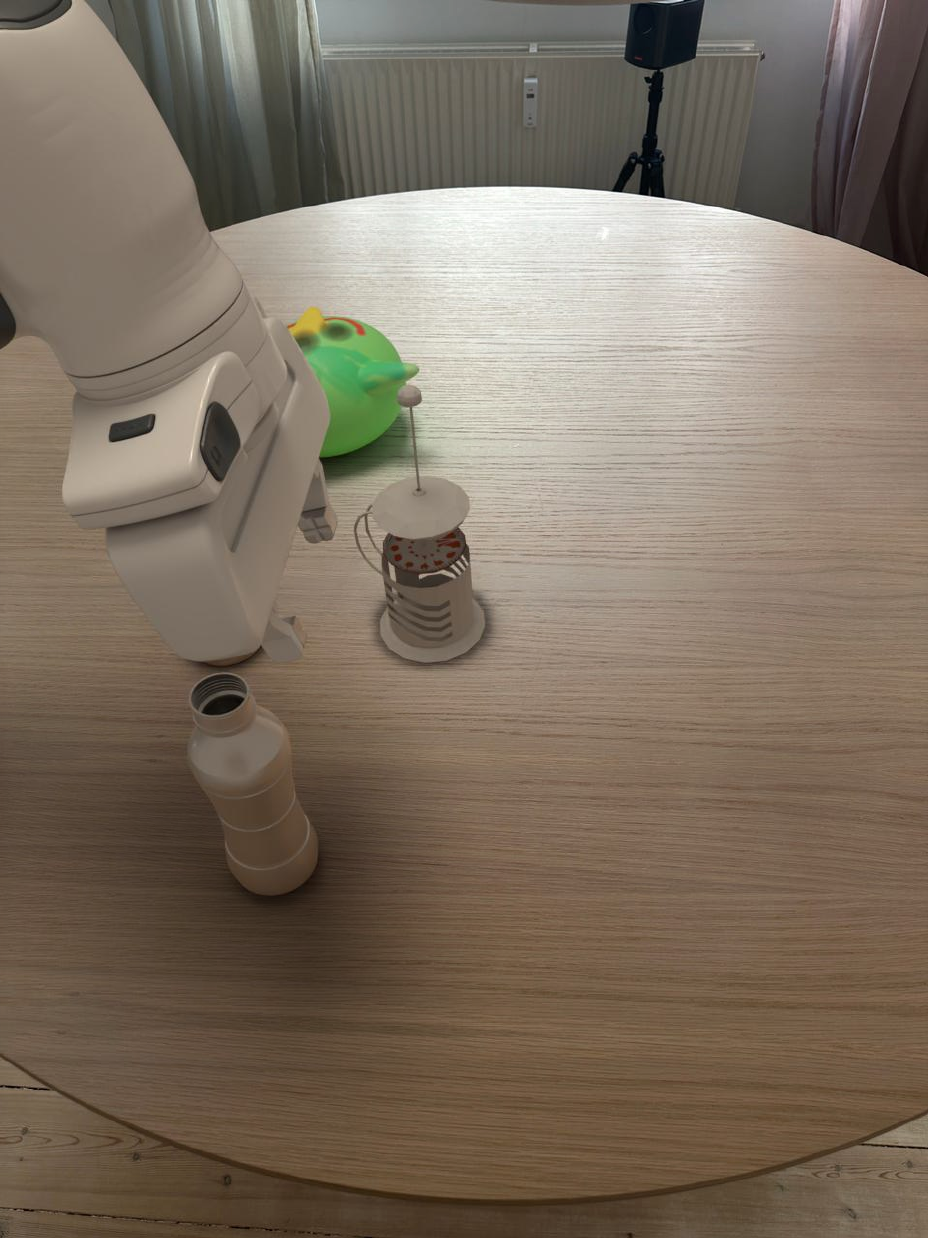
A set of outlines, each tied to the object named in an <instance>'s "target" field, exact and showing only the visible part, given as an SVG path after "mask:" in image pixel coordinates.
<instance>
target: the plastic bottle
mask: <svg viewBox="0 0 928 1238" xmlns="http://www.w3.org/2000/svg"><path fill="white" fill-rule="evenodd" d="M188 705H189V708H190V710H191V713H192V720H193V722H194V725H195V726H194V727H193V730H192V731H191V733H190V735H189V739H188V743H187V763H188V767H189V769H190V771H191V773H192V775H193V776H194V779H195V780H196V782H197V783H198V784H199V786H200V788H201V789H202V790H203V793H205V794H206V796H207V798H208V799H209V800H210V802H211V803H212V806H213V808H214V810H215V811H216V814H217V816H218V818H219V820H220V823H221V827H222V831H223V835H224V851H225V857H226V863H227V866H228V868H229V870H230V872H231V874H232V875H233V876H234V878H235V879H236V880H237V881H238V882H239V884H241V886H242V887H243V888H244V889H246V890H247V891H250V892H252V893H254V894H256V895H259V896H269V897H270V896H271V897H272V896H279V895H280V896H281V895H284V894H287V893H290V892H293V891H294V890H296V889H298V888H300V887H301V886H302V885H304V883H305V882H307V880H308V879H309V878H310V877H311V876H312V875H313V873H314V871H315V869H316V866H317V864H318V858H319V839H318V835H317V832H316V830H315V828H314V826H313V824H312V822H311V821H310V819H309V817H308V816H307V815H306V813H305V812H304V810H303V808H302V805H301V802H300V801H299V798H298V795H297V793H296V792H297V791H296V788H295V783H294V777H293V773H292V772H293V770H292V769H293V768H292V767H293V766H292V745H291V740H290V735H289V732H288V729H287V727H285V725H284V723H283V722H282V721H281V720H280V719H279V718H278V716H276V714H275V713H273V712H272V711H271V710H269V709H267V708H265V707H263V706H261V705H259V704H258V703H257V700H256V697H255V695H254V694H253V693H252V690H251V687H250V685H249V683H248V682H247V680H245V678H243V676H241V675H239V674H236V673H233V672H215V673H211V674H209V675H207V676H205V677H203V678H201V679H199V681H197V682H196V683H194V686H192V688H191V690H190V692H189V695H188Z"/></svg>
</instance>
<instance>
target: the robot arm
mask: <svg viewBox="0 0 928 1238" xmlns="http://www.w3.org/2000/svg"><path fill="white" fill-rule="evenodd" d="M204 219H205V218H204V216H203V214H202V211H201V206H200V201H199V195H198V192H197V187H196V183H195V181H194V178H193V176H192V174H191V171H190V169H189V167H188V165H187V163H186V161H185V159H184V156H183V155H182V153H181V152H180V149H179V147H178V145H177V143H176V141H175V140H174V138H173V136H172V134H171V132H170V130H169V128H168V126H167V124H166V122H165V120H164V119H163V117H162V115H161V113H160V111H159V109H158V107H157V105H156V104H155V102H154V100H153V98H152V96H151V95H150V93H149V91H148V89H147V88H146V85H144V83H143V81H142V79H141V78H140V76H139V74H138V73H137V70H136V69H135V67H134V66H133V65H132V62H130V60H129V59H128V57H127V55H126V54H125V52H124V51H123V49H122V47H121V46H120V44H119V42H118V41H117V40H116V38H115V37H114V36H113V34H112V33H111V31H110V30H109V29H108V27H107V26H106V25H105V23H104V22H103V21H102V20H101V18H100V17H99V16H98V14H97V13H96V12H95V11H94V9H92V7H91V6H90V5H89V3H87V2H86V0H0V350H2V349H4V348H5V347H7V346H8V345H9V344H10V343H11V342H12V341H15V340H18V339H21V338H23V337H24V338H25V337H35V338H38V339H41V340H42V341H44V342H45V343H46V344H47V345H48V346H49V347H50V348H51V350H52V352H53V353H54V355H55V357H56V359H57V361H58V364H59V366H60V368H61V370H62V371H63V373H64V375H65V376H66V378H67V379H68V380H69V381H70V383H71V384H72V386H73V387H74V389H75V390H76V392H75V393H74V394H73V397H72V399H71V401H72V402H71V417H72V418H71V433H70V434H71V435H70V441H69V442H70V443H69V448H68V449H69V450H68V455H67V460H66V465H65V470H64V476H63V481H62V485H61V498H62V503H63V506H64V507H65V509H66V511H67V513H68V514H69V515H70V517H71V519H73V521H74V522H75V523H76V524H77V525H78V526H79V527H80V528H82V529H83V530H85V531H92V530H99V529H105V532H104V538H105V540H104V541H105V547H106V551H107V555H108V558H109V562H110V563H111V566H112V569H113V570H114V572H115V574H116V575H117V578H118V579H119V581H120V582H121V585H123V587H124V589H125V590H126V591H127V593H128V594H129V596H130V597H131V599H132V600H133V601H134V603H135V604H136V605H137V607H138V609H139V610H140V611H141V613H142V614H143V616H144V617H145V618H146V619H147V621H148V622H149V623H150V624H151V626H152V627H153V628H154V630H155V631H156V632H157V633H158V635H159V636H160V637H161V638H162V640H163V641H164V642H165V644H167V646H168V647H169V648H170V649H171V650H172V651H173V653H175V654H176V655H177V656H178V657H180V658H182V659H184V660H187V661H193V662H201V663H204V662H203V661H213V660H220V659H226V658H231V657H236V656H240V655H245V654H249V653H252V652H254V651H256V650H257V649H258V648H259V647H260V648H261V647H262V649H263V650H264V652H265V653H266V656H268V658H269V659H270V660H271V661H272V662H273V663H277V664H286V663H291V662H298V661H300V660H301V659H302V658H303V655H304V651H305V645H306V643H307V642H306V641H307V637H308V633H307V632H306V630H305V629H303V625H302V624H301V622H300V620H299V618H298V617H297V615H292V616H286V617H283V618H281V617H279V616H277V614H278V611H279V604H278V603H277V601H276V597H277V594H278V590H279V587H280V584H281V581H282V577H283V575H284V570H285V567H286V564H287V561H288V559H289V554H290V551H291V548H292V544H293V541H294V540H295V539H294V538H295V535H296V532H297V529H299V530H300V532H302V534H303V538H304V539H305V541H306V542H308V543H310V544H319V543H321V542H322V541H324V542H329V541H331V540H333V539H334V536H335V533H336V530H337V526H338V523H339V518H338V516H337V513H336V512H335V510H334V508H333V506H332V504H331V502H330V501H329V499H330V497H329V493H328V488H327V482H326V477H325V472H324V467H323V464H322V462H321V460H320V457H319V454H320V451H321V448H322V445H323V441H324V438H325V435H326V432H327V429H328V426H329V423H330V411H329V406H328V401H327V398H326V394H325V392H324V390H323V388H322V386H321V384H320V382H319V380H318V379H317V377H316V375H315V373H314V371H313V370H312V368H311V366H310V364H309V362H308V361H307V359H306V357H305V355H304V354H303V352H302V350H301V349H300V347H299V345H298V344H297V342H296V340H295V339H294V337H293V336H292V334H291V332H290V331H289V330H288V328H287V327H286V326H285V325H286V324H284V322H283V321H281V319H279V318H277V317H274V316H267V314H266V312H265V310H264V308H263V306H262V304H261V303H260V300H259V299H258V298H257V296H256V295H254V294H252V293H251V291H250V289H249V288H248V286H247V283H246V282H245V280H244V278H243V276H242V273H241V272H240V270H239V268H238V266H237V265H236V264H235V262H233V260H232V259H231V258H230V256H229V255H227V253H226V252H225V251H224V250H223V248H221V247H220V246H219V244H218V243H217V241H216V240H215V239H214V236H213V235H212V234H211V232H210V230H209V228H208V226H207V224H206V221H205V220H204ZM260 645H261V646H260ZM260 648H259V649H260ZM259 649H258V650H259ZM258 650H257V651H258ZM257 651H256V652H257Z"/></svg>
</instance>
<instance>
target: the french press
mask: <svg viewBox="0 0 928 1238" xmlns="http://www.w3.org/2000/svg"><path fill="white" fill-rule="evenodd" d="M397 400H398V404H399V405H401V406H402V407H404V408H408V409H409V417H410V426H411V436H412V447H413V456H414V465H415V466H414V468H415V477H408V478H403V479H401V480H397V481H395V482H392V483H391V484H389V485H387V486H386V487H384V489H382V490H381V491H379V492H378V493H377V495H376V497H375V499H374V501H372V502H371V503H370V504H369V505H368V506H367V508H366V510H365V511H363V512H362V513H361V514H360V515H358V516H357V518H356V519H355V522H354V525H353V535H354V539H355V544H356V546H357V548H358V550H359V553H360V555H361V557H362V558H363V560H364V561H365V562H366V563H367V564H368V565H369V566H370V568H371V569H372V570H374V571H375V572H377V573H378V574H379V575H380V576H382V580H383V585H384V592H385V593H384V594H385V599H386V608H385V610H384V612H383V614H382V616H381V618H380V620H379V635H380V637H381V639H382V640H383V642H384V644H385V645H386V647H387V648H388V650H390V651H392V652H393V653H395V654H396V655H398V656H400V657H401V658H403V659H404V660H409V661H414V662H419V663H424V664H426V663H436V662H439V663H440V662H448V661H450V660H452V659H454V658H457V657H460V656H462V655H464V654H466V653H467V652H468V651H470V650H471V649H472V648H473V647H474V646H475V645H476V644H478V643H479V641H480V640H481V638H482V635H483V633H484V630H485V628H486V619H485V612H484V610H483V608H482V607H481V605H480V604H479V603H478V602H477V600H476V599H475V598H474V597H473V580H472V565H471V564H472V563H471V553H470V546H469V545H468V544H467V540H466V539H467V538H466V535H465V533H464V531H462V530H461V528H460V527H461V525H463V524H464V521H465V520H466V518H467V516H468V514H469V512H470V510H471V503H470V496H468V494H467V493H466V492H465V490H464V489H463V488H462V487H461V486H460V485H458V484H456V483H455V482H453V481H450V480H448V479H446V478H442V477H441V478H440V477H435V476H434V477H433V476H427V475H425V476H423V475H422V476H420V472H419V462H418V452H417V451H418V449H417V442H416V431H415V422H414V413H413V412H414V411H413V408H414V407H418V405H420V404H421V403H422V401H423V396H422V391H421V389H420V388H418V387H417V386H416V385H413V384H406V385H405V386H403V387H401V388H400V389H399V390H398V393H397ZM369 515H371V518H372V519H373V520H374V523H376V525H377V526H378V528H379V529H381V530H383V531H384V532H386V533H387V534H386V536H385V538H384V539H383V541H382V551H381V549H379V547H378V546H377V545H376V543H375V541H374V539H373V537H372V535H371V532H370V530H369V521H368V516H369ZM362 518H364V526H365V533H366V534H367V536H368V539H369V540H370V542H371V544H372V546H373V548H374V550H376V552H377V553H378V554H379V555H380V556H381V558H380V559H381V562H380V563H381V565H380V566H381V570H380V569H379V568H378V567H377V566H375V564H373V563H372V561H371V560H369V558H368V557H367V556H366V555H365V553H364V551H363V550H362V546H361V544H360V540H359V536H358V531H357V530H358V525H359V523H360V521H361V519H362ZM462 557H463V558H464V559H463V558H462ZM458 561H459V562H460V563H461V564H462V566H463V567H464V568H462V566H461V565H460V564H459V563H458ZM465 561H466V562H465ZM466 563H467V564H466ZM390 565H391V566H393V568H394V575H395V580H394V579H392V578H391V572H390ZM452 566H454V567H455V568H456V569H457V570H458V571H459V572H460V574H459V573H458V572H457V571H456V569H455V568H453V567H452ZM441 571H446V572H449V573H451V574H453V575H454V576H455V577H452V576H450V575H447V574H444V573H438V572H441ZM420 575H425V576H423V577H421V578H420ZM393 590H394V591H396V592H397V595H396V594H395V593H394V592H393Z"/></svg>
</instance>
